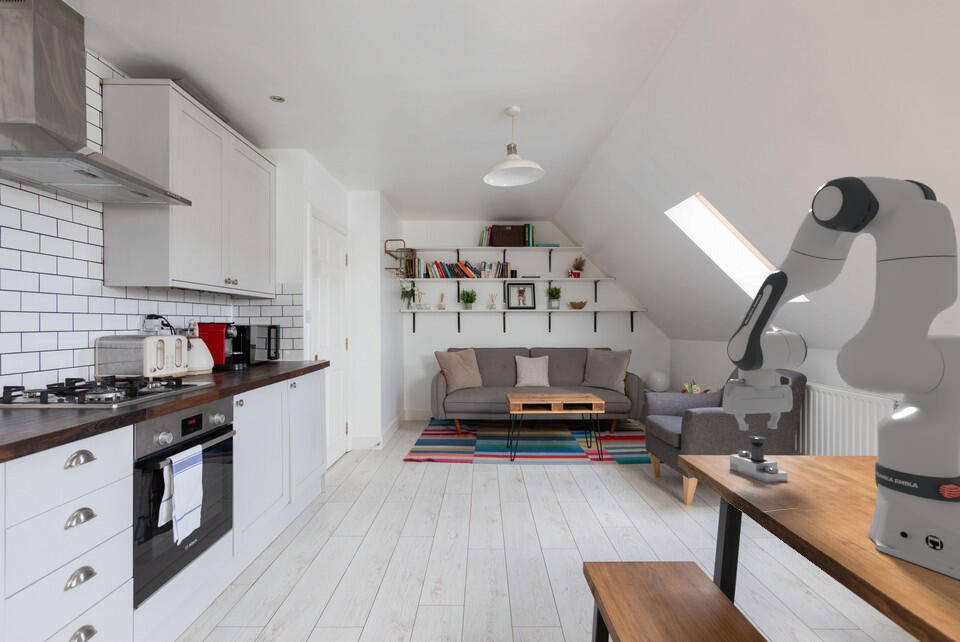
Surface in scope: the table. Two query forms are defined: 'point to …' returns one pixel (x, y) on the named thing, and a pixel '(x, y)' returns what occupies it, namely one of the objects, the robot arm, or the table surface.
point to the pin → (757, 448)
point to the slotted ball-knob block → (756, 468)
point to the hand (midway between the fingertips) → (758, 429)
